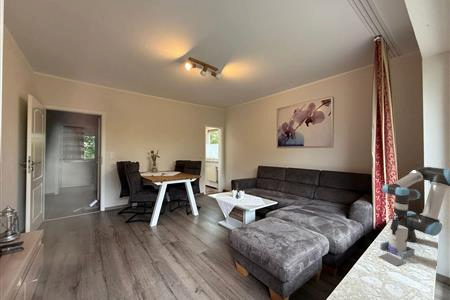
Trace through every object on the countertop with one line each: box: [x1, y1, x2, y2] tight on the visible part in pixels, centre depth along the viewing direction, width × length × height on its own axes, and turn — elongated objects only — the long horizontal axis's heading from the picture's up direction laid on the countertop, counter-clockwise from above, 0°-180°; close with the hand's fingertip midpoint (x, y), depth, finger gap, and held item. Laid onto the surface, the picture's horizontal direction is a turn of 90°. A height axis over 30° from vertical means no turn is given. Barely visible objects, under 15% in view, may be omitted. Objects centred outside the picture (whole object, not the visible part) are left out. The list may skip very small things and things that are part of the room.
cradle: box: [379, 240, 416, 261], centre depth 149 cm, size 14×14×5 cm
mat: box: [378, 252, 407, 267], centre depth 140 cm, size 11×11×1 cm
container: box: [387, 224, 408, 257], centre depth 149 cm, size 10×10×20 cm
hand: (398, 237), depth 149 cm, fingers closed on container, 10 cm apart
